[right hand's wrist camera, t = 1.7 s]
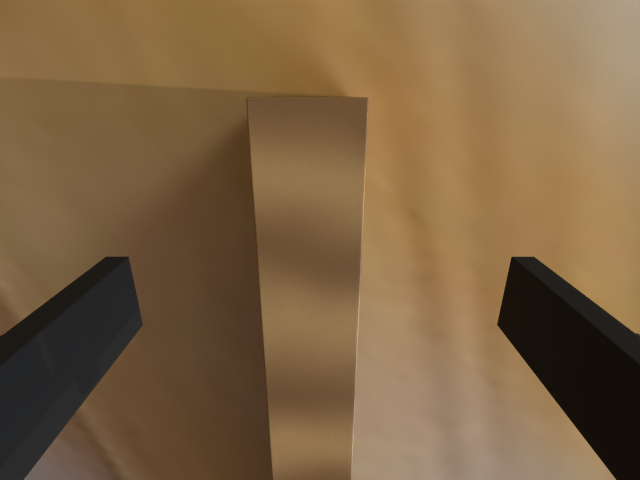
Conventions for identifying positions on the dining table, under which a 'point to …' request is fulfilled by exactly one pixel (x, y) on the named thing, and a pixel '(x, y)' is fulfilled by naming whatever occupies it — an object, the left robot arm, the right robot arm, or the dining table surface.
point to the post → (309, 274)
